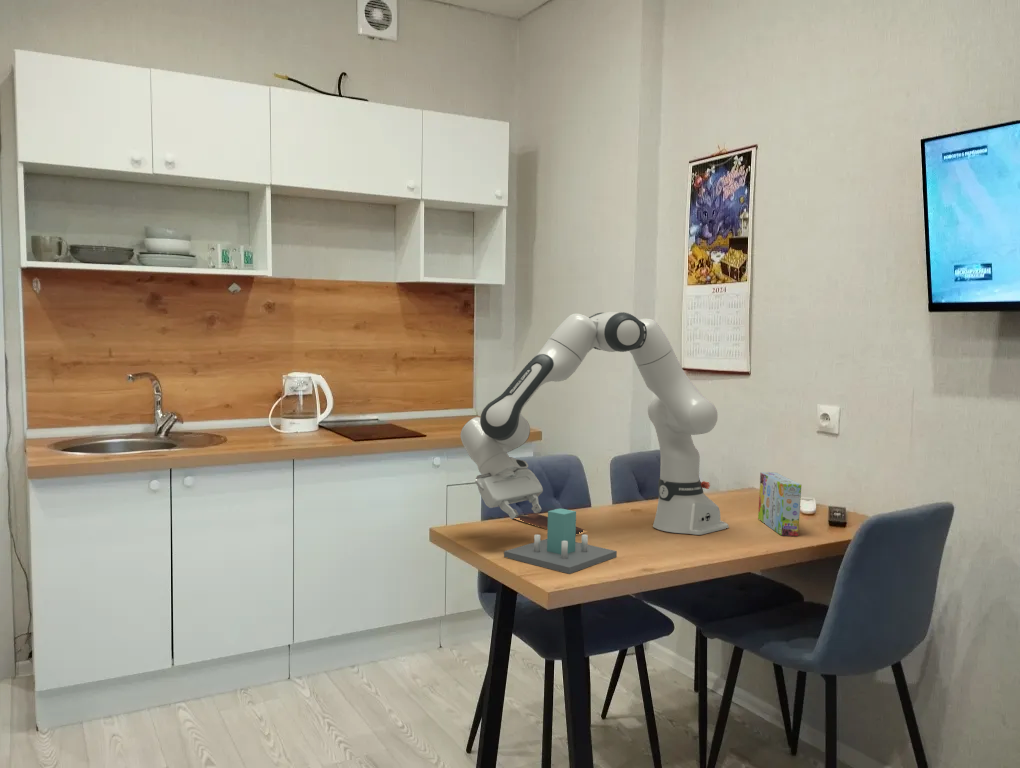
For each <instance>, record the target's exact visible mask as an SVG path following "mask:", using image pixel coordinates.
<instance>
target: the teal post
mask: <svg viewBox="0 0 1020 768" xmlns="http://www.w3.org/2000/svg"><path fill="white" fill-rule="evenodd" d="M547 517H548V530H547V534H546V536H547V537H546V539H547V551H549V552H553V553H557V554H561V546H562V541H568V553H571V552H574V551H575V542H576V536H577V535H576V527H577V511H576V510H571V509H565V508H555V509H551V510H548V511H547Z"/></svg>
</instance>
